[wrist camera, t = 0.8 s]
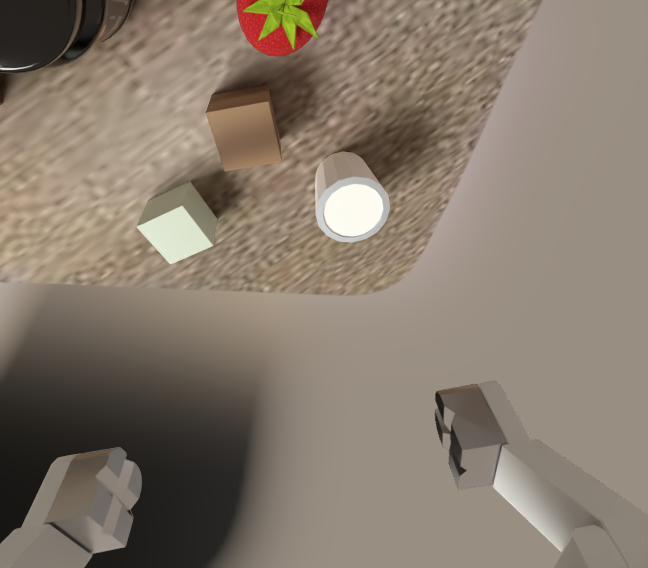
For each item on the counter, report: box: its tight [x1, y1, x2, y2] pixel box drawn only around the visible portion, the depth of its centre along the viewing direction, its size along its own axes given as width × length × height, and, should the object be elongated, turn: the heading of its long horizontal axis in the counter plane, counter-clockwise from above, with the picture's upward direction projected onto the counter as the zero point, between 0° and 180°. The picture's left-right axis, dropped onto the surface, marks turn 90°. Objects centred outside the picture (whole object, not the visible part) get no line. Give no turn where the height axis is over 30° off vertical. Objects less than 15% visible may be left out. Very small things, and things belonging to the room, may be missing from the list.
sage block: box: [137, 181, 218, 264], centre depth 40 cm, size 5×5×5 cm
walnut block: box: [206, 84, 282, 172], centre depth 35 cm, size 5×5×5 cm
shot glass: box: [315, 151, 390, 242], centre depth 39 cm, size 7×7×7 cm
